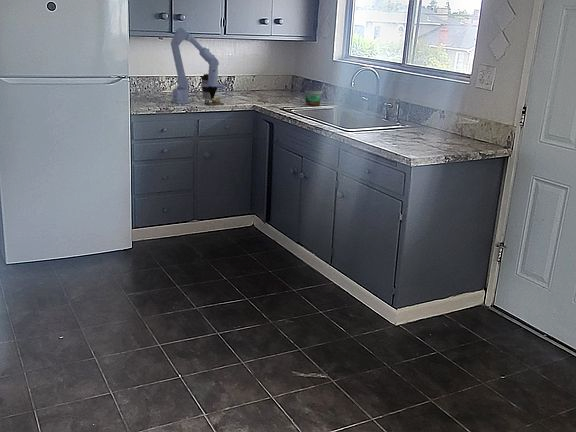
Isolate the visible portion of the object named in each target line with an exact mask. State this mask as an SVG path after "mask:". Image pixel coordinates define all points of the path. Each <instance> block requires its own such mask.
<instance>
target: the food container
mask: <svg viewBox="0 0 576 432" xmlns="http://www.w3.org/2000/svg"><path fill="white" fill-rule="evenodd" d="M304 93H305V97H304V98H305V106H307V105H308V106H309V107H320V104H321V100H322V95H323V90H310V89H309V90H308V89H305V90H304ZM304 93H303V94H304Z"/></svg>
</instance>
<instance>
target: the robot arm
mask: <svg viewBox="0 0 576 432" xmlns="http://www.w3.org/2000/svg"><path fill="white" fill-rule="evenodd" d="M183 41H186V42H190V44H192V45H193V46H194V48H196V49H197V50H198V51H199V56H200V57H201V58H202V59H203V60H204V61H205V62H206V63H208V73H207V74H208V84H203V83H202V82H201V83H200V87H201V88H202V87H208V90H209V93H210V96H211V99H210V100H211V101H212V98H215V95H216V92H217V90H218V89H223V90H224V89H225V88H226V87H225V85H224V84H219V83H218V82H219V81H218V79H219V77H218V76H219V65H220V62H219V59H217V58H216V56H215V55H214V54H213V53H212V52H211V50H210V49H209V48H208V47H203V46H202V45H201V44H200V42H198V40H197V39H196V38H195V37H194V36H193V35H192V34H190V32H188V31H187V30H186V29H185V28H182V27H179V28H177V29H176V30H175V31H174V33H173V36H172V39H171V41H170V46H171V51H172V52H171V53H172V56H173V59H174V60H173V61H174V64H175V69H176V73H177V79H176V80H177V81H176V82H177V85H176V88H174V89H173V88H172V97H171V98H172V99H171V102H172V103H175V104H178V105H179V104H181V105H182V104H191V103H192V102H191V101H189V98H190V97H189V95H190V94H189V92H190V91H189V90H190V88H189V80H188V79H187V77H186V73H185V69H184V63H183V59H182V55H181V50H180V45H181V43H182V42H183ZM210 86H212V87H210Z"/></svg>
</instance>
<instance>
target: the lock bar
mask: <svg viewBox="0 0 576 432" xmlns="http://www.w3.org/2000/svg"><path fill="white" fill-rule="evenodd" d="M211 102H221V97H214V98H212V100H211Z"/></svg>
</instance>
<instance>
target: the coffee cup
mask: <svg viewBox="0 0 576 432" xmlns="http://www.w3.org/2000/svg"><path fill="white" fill-rule="evenodd" d="M208 74H209V73H205V74H203V75H201V78H200V79H201V84H202V83H203V84H208ZM210 87H212V86H210ZM201 92H202V98H203V99H207V100H211V96H210V93H209V90H208V87H201Z"/></svg>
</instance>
